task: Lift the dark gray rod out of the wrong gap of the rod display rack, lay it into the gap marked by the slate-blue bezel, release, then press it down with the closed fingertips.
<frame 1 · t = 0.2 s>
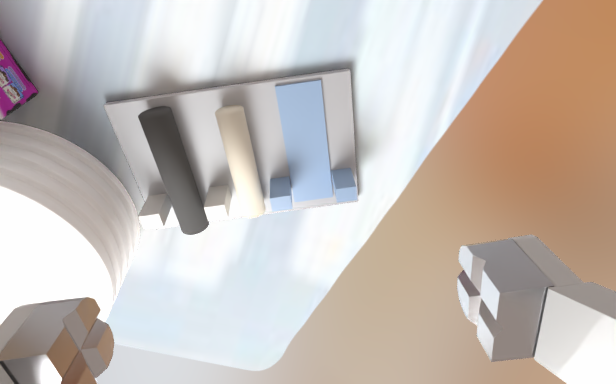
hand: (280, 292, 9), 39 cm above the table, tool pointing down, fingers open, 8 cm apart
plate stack: (32, 216, 54), on the table
dark gray rod: (179, 167, 49), point 1 cm above the table, touching rod display rack
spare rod: (243, 158, 49), point 1 cm above the table, touching rod display rack
rod display rack: (243, 154, 50), on the table
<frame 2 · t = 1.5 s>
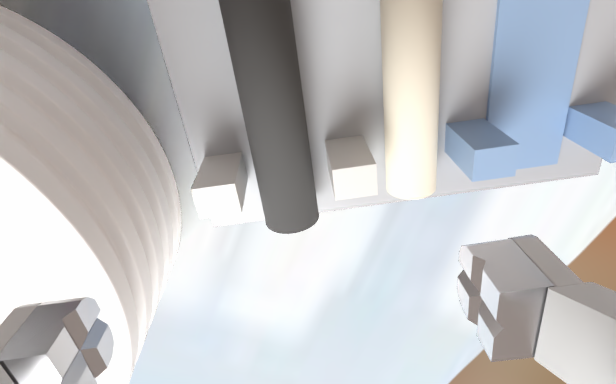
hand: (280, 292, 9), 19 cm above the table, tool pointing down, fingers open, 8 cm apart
dark gray rod: (274, 93, 24), point 1 cm above the table, touching rod display rack
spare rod: (403, 75, 24), point 1 cm above the table, touching rod display rack
rod display rack: (399, 71, 25), on the table
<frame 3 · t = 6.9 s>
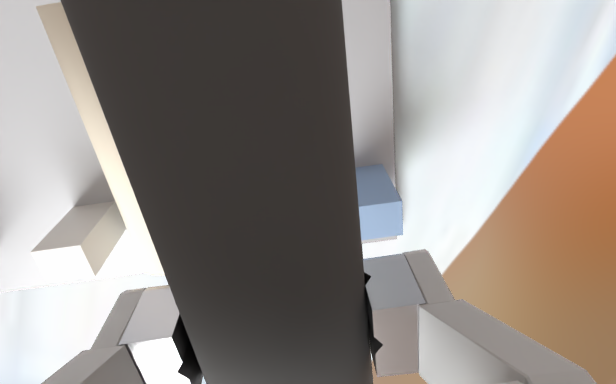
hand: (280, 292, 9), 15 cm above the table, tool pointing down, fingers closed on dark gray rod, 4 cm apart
dark gray rod: (284, 280, 10), point 14 cm above the table, touching gripper
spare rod: (141, 139, 22), point 1 cm above the table, touching rod display rack
rod display rack: (146, 133, 23), on the table
when the fingers open (3 cm above the table, at t = 9.7 s): dark gray rod stays where it is, resting on rod display rack.
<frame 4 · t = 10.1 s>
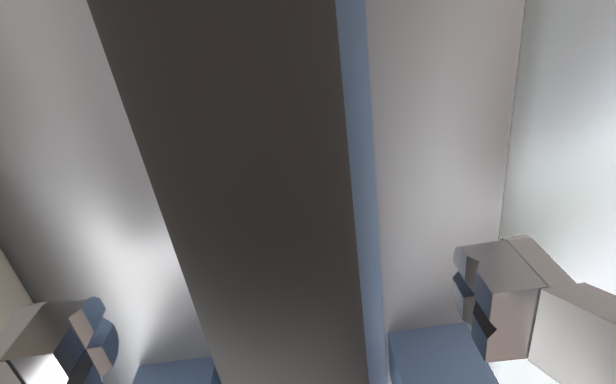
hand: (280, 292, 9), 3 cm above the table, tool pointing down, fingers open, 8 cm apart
dark gray rod: (284, 263, 11), point 1 cm above the table, touching rod display rack
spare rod: (1, 294, 11), point 1 cm above the table, touching rod display rack
rod display rack: (22, 272, 12), on the table
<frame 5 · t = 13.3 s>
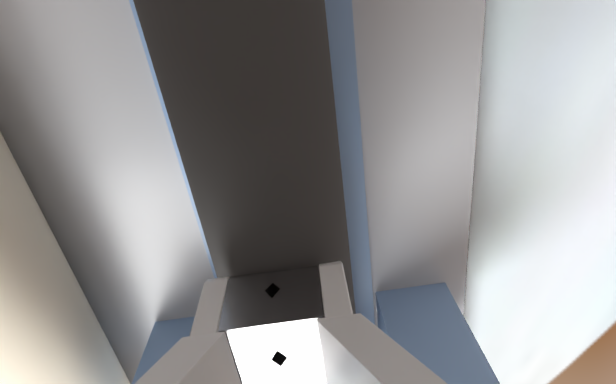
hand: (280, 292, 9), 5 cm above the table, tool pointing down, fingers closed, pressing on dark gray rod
dark gray rod: (284, 224, 12), point 1 cm above the table, touching rod display rack, gripper
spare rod: (37, 253, 13), point 1 cm above the table, touching rod display rack
rod display rack: (53, 236, 14), on the table
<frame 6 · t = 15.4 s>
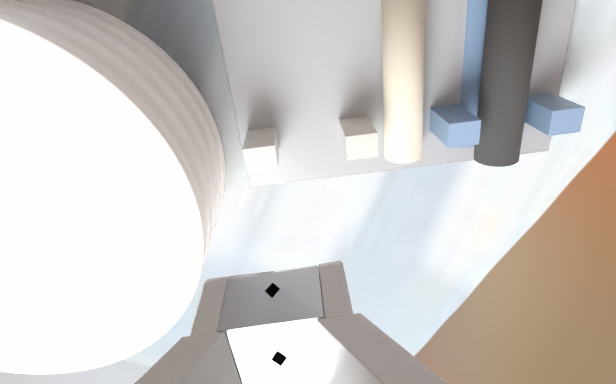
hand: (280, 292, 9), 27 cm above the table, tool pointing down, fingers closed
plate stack: (72, 162, 37), on the table
dark gray rod: (496, 59, 33), point 1 cm above the table, touching rod display rack
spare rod: (398, 70, 33), point 1 cm above the table, touching rod display rack
rod display rack: (395, 68, 34), on the table
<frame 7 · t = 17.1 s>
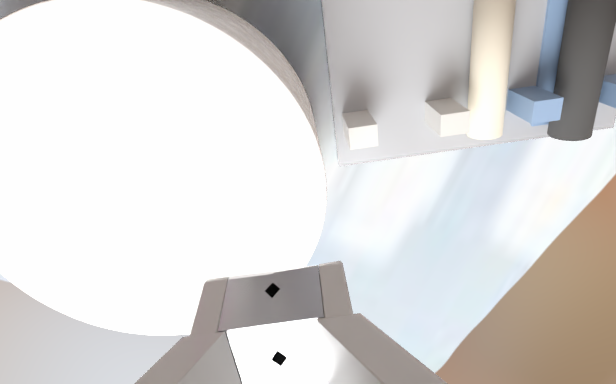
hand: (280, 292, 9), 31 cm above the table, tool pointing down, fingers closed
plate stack: (178, 146, 40), on the table
dark gray rod: (571, 43, 36), point 1 cm above the table, touching rod display rack
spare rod: (481, 55, 36), point 1 cm above the table, touching rod display rack
rod display rack: (477, 53, 37), on the table
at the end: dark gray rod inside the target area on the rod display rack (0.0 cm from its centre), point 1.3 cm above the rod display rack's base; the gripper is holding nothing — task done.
